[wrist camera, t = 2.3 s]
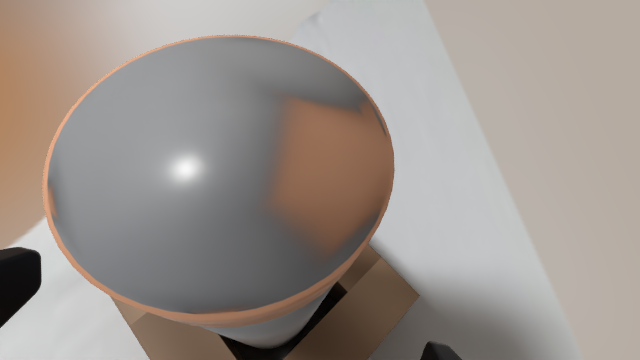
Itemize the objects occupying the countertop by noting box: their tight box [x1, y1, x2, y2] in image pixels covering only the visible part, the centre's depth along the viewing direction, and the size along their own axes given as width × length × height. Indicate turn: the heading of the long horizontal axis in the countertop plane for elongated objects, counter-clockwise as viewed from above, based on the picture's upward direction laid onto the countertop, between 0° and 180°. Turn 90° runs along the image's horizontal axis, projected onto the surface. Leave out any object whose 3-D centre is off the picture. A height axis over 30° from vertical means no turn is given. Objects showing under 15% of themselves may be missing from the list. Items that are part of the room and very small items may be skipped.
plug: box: [42, 35, 394, 349], centre depth 10 cm, size 5×5×14 cm
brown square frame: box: [110, 244, 420, 360], centre depth 15 cm, size 10×10×3 cm
